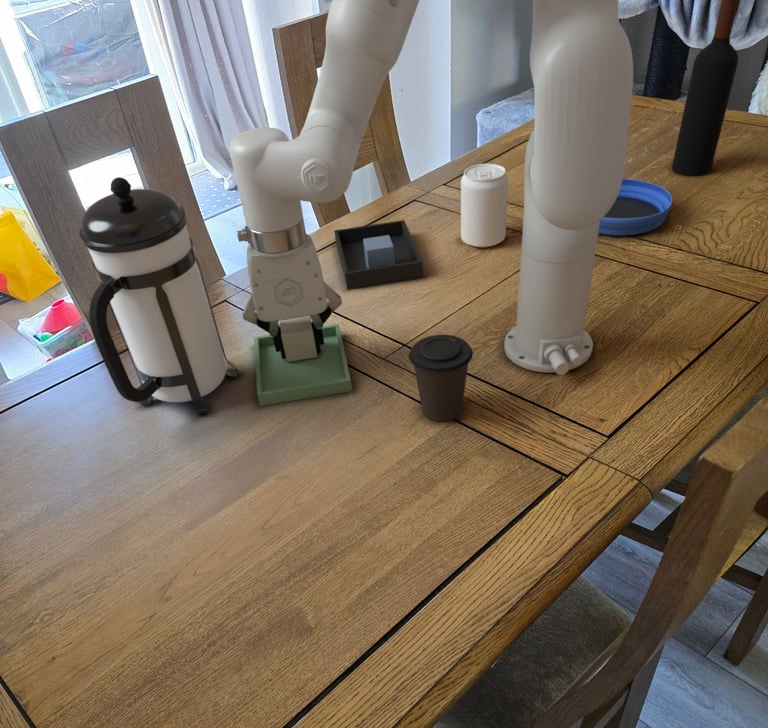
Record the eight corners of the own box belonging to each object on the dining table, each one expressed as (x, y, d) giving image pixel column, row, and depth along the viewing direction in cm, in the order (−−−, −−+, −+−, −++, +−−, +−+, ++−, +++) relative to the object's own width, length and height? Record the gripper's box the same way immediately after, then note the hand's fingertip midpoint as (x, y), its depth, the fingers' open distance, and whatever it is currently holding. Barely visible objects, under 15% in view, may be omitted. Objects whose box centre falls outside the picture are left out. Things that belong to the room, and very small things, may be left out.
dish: (352, 391, 99) (350, 380, 97) (260, 406, 98) (257, 395, 97) (340, 334, 109) (338, 323, 108) (256, 347, 108) (254, 337, 107)
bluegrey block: (395, 271, 121) (393, 246, 118) (369, 275, 121) (366, 250, 117) (391, 259, 124) (389, 234, 121) (365, 263, 124) (363, 238, 121)
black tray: (422, 277, 120) (422, 261, 117) (347, 289, 119) (345, 273, 117) (405, 235, 131) (404, 219, 129) (336, 245, 131) (334, 230, 129)
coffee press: (126, 377, 106) (40, 172, 84) (229, 350, 109) (171, 145, 87) (140, 445, 94) (44, 227, 72) (254, 412, 97) (195, 193, 75)
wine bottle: (671, 175, 140) (709, -7, 119) (672, 161, 145) (709, -17, 124) (711, 176, 138) (758, -9, 117) (710, 162, 143) (755, -18, 122)
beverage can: (504, 229, 130) (508, 161, 121) (505, 249, 124) (509, 179, 116) (461, 230, 131) (461, 163, 122) (460, 250, 125) (460, 182, 117)
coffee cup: (477, 394, 96) (478, 331, 89) (466, 432, 90) (466, 367, 83) (420, 388, 98) (416, 326, 91) (405, 425, 92) (401, 361, 85)
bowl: (680, 235, 123) (685, 215, 120) (577, 242, 124) (579, 222, 121) (655, 193, 135) (658, 174, 133) (561, 200, 136) (563, 181, 134)
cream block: (317, 357, 104) (312, 330, 101) (287, 362, 104) (281, 335, 100) (314, 340, 107) (309, 314, 104) (285, 345, 107) (279, 319, 104)
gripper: (213, 256, 89) (246, 374, 102) (343, 236, 90) (359, 355, 103) (214, 231, 94) (245, 347, 108) (337, 212, 95) (353, 329, 108)
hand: (300, 350), depth 105 cm, fingers closed on cream block, 4 cm apart
